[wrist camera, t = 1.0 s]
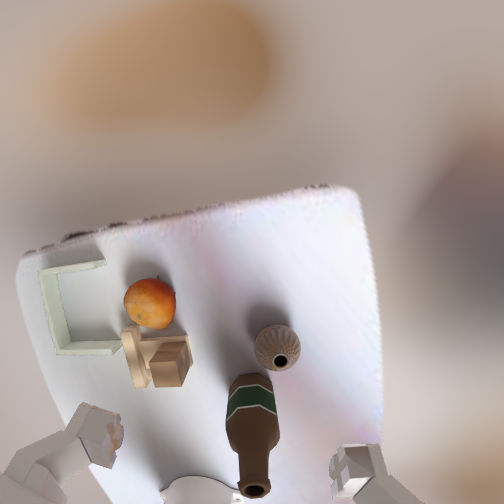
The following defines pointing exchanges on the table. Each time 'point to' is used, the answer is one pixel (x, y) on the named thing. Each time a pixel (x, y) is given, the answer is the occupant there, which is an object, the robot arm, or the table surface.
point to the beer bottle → (252, 431)
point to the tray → (58, 316)
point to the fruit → (150, 303)
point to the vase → (277, 347)
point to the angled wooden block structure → (156, 358)
